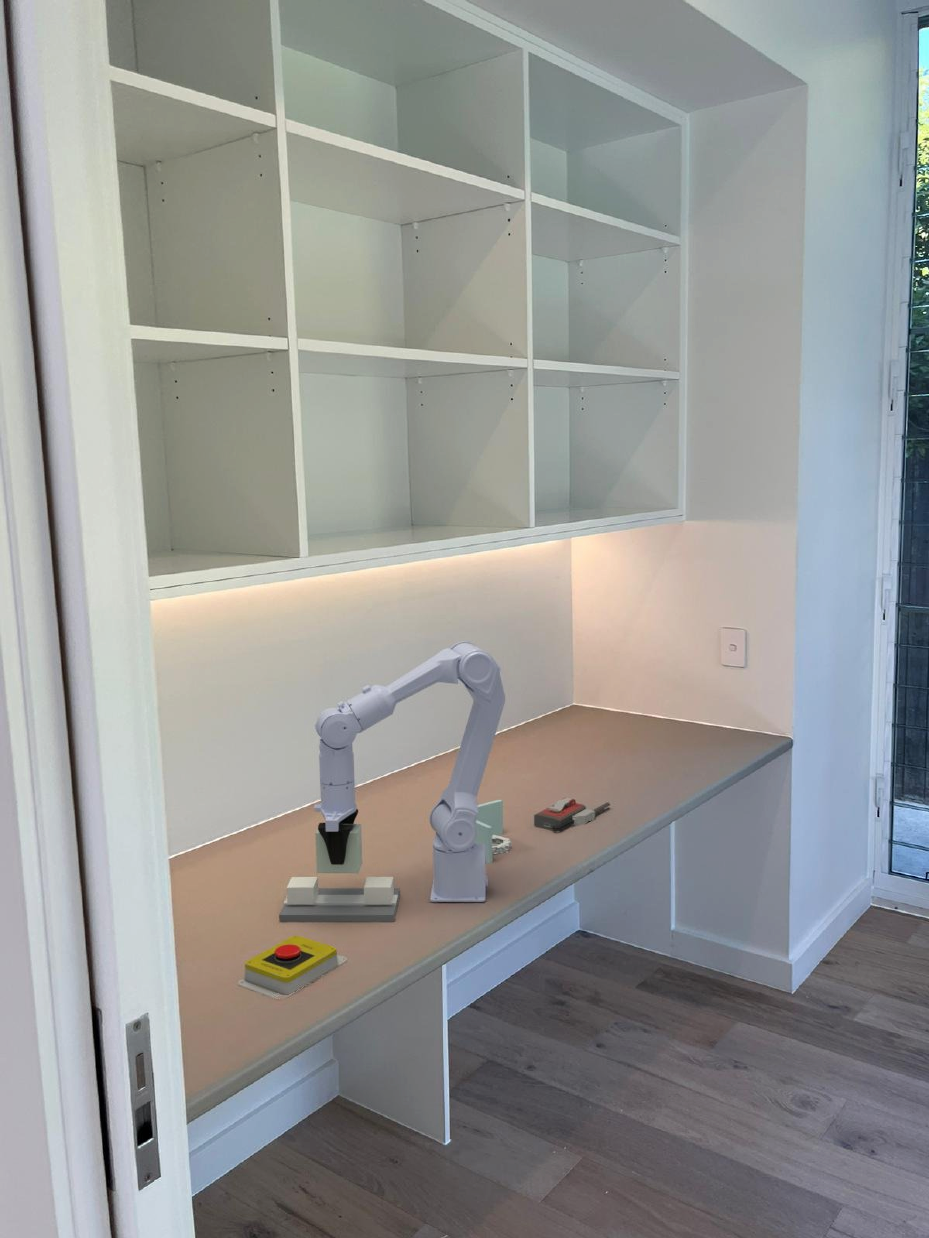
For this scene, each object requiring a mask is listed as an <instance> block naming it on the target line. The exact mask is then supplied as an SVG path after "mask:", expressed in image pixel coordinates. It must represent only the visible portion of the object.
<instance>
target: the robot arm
mask: <svg viewBox="0 0 929 1238" xmlns="http://www.w3.org/2000/svg"><path fill="white" fill-rule="evenodd" d="M500 672H501V667H500V665H499V664H498V663H497V661H496V660H495V659H494V657H493V655H491V654H490V653H489V652H487V651H485V650H484V649H481V648H480V647H478V646H476V645H475V644H474V643H472V642H469V641H459V642H456V643H454V644H453V645H451V647H450V648H449V647H447V648H444V649H442V650H440V651H438V653H436V654H435V655H434V656H432V657H431V658H429V659H427V660H425V661H424V662H423V663H421V664H420V665H418V666H417V667H415V668H413V669H412V670H410V671H409V672H407V673H405V674H404V675H402V676H401V677H399V678H398V679H396V680H395V681H393V682H392V683H389V684H388V685H386V686H383V685H380V684H374V685H372V686H370V685H369V684H367V685H365V686H364V687H362V688H361V690H362V692H360V693H359V694H356V695H355V696H353V697H352V698H350V699H348V700H346V701H345V702H343V700H341V701H339V702H338V703H336V705H337V707H329V708H327V709H325V710H323V711H322V712H321V713H320V714H319V717H317V719H316V723H315V724H314V728H315V730H316V731H315V732H316V733H317V735H318V736H319V737H320V738H319V745H318V748H319V755H318V757H319V758H318V760H319V761H318V762H319V764H318V765H319V788H320V789H319V790H320V803H316V804H314V806H313V810H314V812H318V813H319V812H320V813H321V816H322V817H323V819H324V820H325V822H319V823H318V825H317V829H318V830H319V833H320V834H321V836H322V837H323V839H324V841H325V844H326V847H327V851H328V855H329V859H330V862H331V864H332V865H343V864H344V861H345V856H346V848H347V841H348V837H349V833H350V831H351V829H352V827H353V825H343V824H355V820H356V818H357V816H358V814H359V809H358V808H357V803H356V792H355V791H356V790H355V787H356V785H355V783H356V782H355V760H354V758H355V756H354V755H355V754H354V751H353V750H354V749H353V742H354V741H355V739H356V736H357V735H358V734H361V733H362V732H364V731H366V730H368V729H369V728H371V727H373V726H375V725H377V724H378V723H380V722H381V721H383V720H386V718H388V717H389V716H392V715H393V714H394V712H395V708H396V705H397V704H398V703H400V702H402V701H404V700H407V699H408V698H410V697H412V696H414V695H416V694H418V693H420V692H421V691H424V690H425V689H428V688H429V687H431V686H433V685H436V684H437V683H446V684H455V685H457V684H459V681H460V682H461V683H462V684H463V685H464V687H465V688H466V690H467V691H468V693H469V695H470V697H471V699H472V700H473V703H472V706H471V708H470V712H469V715H468V718H467V719H468V720H467V721H466V726H465V730H464V733H463V736H462V740H461V743H460V746H459V750H458V751H457V756H456V759H455V763H454V766H453V769H452V773H451V777H450V780H449V784H448V785H447V787H446V788H444V790H443V791H441V794H440V797H439V800H438V802H437V803H436V804H435V805H434V806H433V808H432V809H431V811H430V813H429V824H430V826H431V828H432V830H433V831H434V832H435V837H434V838H433V841H432V863H433V864H432V865H433V866H432V868H433V869H432V871H433V872H432V873H433V875H432V877H433V882H432V885H431V891H430V898H429V900H430V902H431V903H445V902H446V903H453V902H454V903H459V902H460V903H473V902H474V903H475V902H476V903H477V902H478V903H483V902H486V897H487V895H486V892H487V890H486V889H487V887H488V886H489V885H488V882H489V881H488V875H487V869H486V863H487V862H486V854H485V845H483V844H477V843H474V842H475V840H476V837H477V825H476V820H477V816H478V805H479V804H478V794H479V790H480V787H481V784H482V781H483V780H482V779H483V778H484V774H485V770H486V767H487V763H488V760H489V757H490V753H491V750H492V747H493V744H494V739H495V737H496V733H497V731H498V727H499V723H500V720H501V716H502V714H503V710H504V708H505V704H506V695H505V691H504V687H503V682H502V678H501V674H500Z"/></svg>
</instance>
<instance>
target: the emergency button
mask: <svg viewBox="0 0 929 1238" xmlns="http://www.w3.org/2000/svg"><path fill="white" fill-rule="evenodd" d="M347 962H348V958H347V956H343V955H339V954H338V953H337V947H335V946H332V945H328V944H325V943H324V942H320V941H317V940H314V939H309V938H307V937H304V936H301V935H293V936H290V937H288V938H286V939H284V940H283V941H281V942H279V943H277V944H275V945H273V946H272V947H270V948H268V949H266V950H264V951H263V952H260V953H259V954H257V955H255V956H253V957H251V958H250V959H248V960H246V961H245V963H244V977H243V978H241V979H239V980H238V982H237V986H239V987H241V988H243V989H246V990H249V991H251V992H254V993H257V992H258V993H257V994H259V993H260V995H262V996H265V997H267V996H269V997H268V998H270V997H273V998H276V997H278V996H284V995H285V996H288V995H289V994H291V993H293V992H296V991H297V990H298V989H301V988H302V987H303V986H305V985H308V983H311V982H313V981H314V980H316V979H317V980H319V979H320V978H319V977H321V976H322V975H324V976H325V974H326V973H327V974H328V972H329V973H330V971H331V972H332V971H334V970H335V969H334V968H336V969H337V968H339V967H340V966H342V965H344V964H345V963H347ZM343 963H344V964H343ZM339 965H340V966H339ZM333 969H334V970H333ZM327 974H326V975H327ZM322 977H323V976H322ZM322 977H321V978H322ZM318 978H319V979H318ZM317 980H316V981H317ZM314 982H315V981H314ZM314 982H313V983H314ZM311 984H312V983H311ZM308 986H309V985H308ZM301 990H302V989H301ZM278 993H279V994H280V995H279V994H278ZM296 993H297V992H296ZM274 996H276V997H274ZM273 998H272V999H273ZM276 999H278V998H276ZM279 999H280V998H279Z"/></svg>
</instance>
